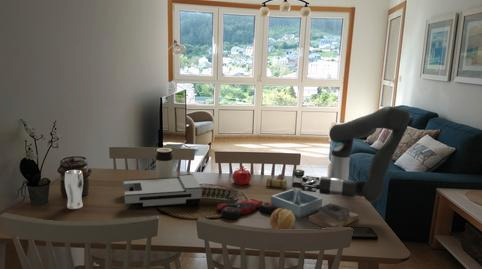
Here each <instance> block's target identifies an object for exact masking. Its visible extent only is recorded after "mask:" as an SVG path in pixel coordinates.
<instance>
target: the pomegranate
mask: <svg viewBox="0 0 482 269" xmlns="http://www.w3.org/2000/svg"><path fill="white" fill-rule="evenodd" d="M244 167H245V166H244V165H241V167H238V168H236V169H235V170H234V171H233V173H232V175H231V178H232V181H233V183H235V184H236V185H239V186H245V185H248V184H250V182H251V180H252V175H251V172H250V171H249V170H248V167H247V168H246V167H245V168H244Z"/></svg>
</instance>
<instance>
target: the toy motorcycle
mask: <svg viewBox="0 0 482 269" xmlns="http://www.w3.org/2000/svg"><path fill="white" fill-rule="evenodd" d="M216 208H217V209H218V210H221V213H220V214H221V216H222V217H223V218H224V219H227V220H235V219H237V218H239V217H240V215H247V214H249V213H252V212H254V211H255V210H257V209H258V208H259V211H260V212H262V213H264V214H268V215H269V214H271V215H272V213H273V212H274V211H275V210H276V209H277V208H276V206H275V205H274V204H272V203H271V202H270V201H267V202H266V201H265V202H264V201H263V200H260V199H259V200H258V199H255V198H253V199H252V198H249V200H248V199H245V200H242V201H239V203H226V202H225V203H220V204H217V205H216Z"/></svg>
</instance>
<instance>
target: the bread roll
mask: <svg viewBox="0 0 482 269" xmlns="http://www.w3.org/2000/svg"><path fill="white" fill-rule="evenodd" d="M295 224H296V217H295V216H294V214H293V213H292V211H289V210H287V209H283V208H278V209H276V210H275V211H274V212H273V213H272V214H271V215H270V218H269V225H270V227H271V229H272V228H273V229H292V230H293V228H294V226H295ZM273 229H272V230H273Z"/></svg>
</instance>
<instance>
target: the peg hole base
mask: <svg viewBox="0 0 482 269" xmlns="http://www.w3.org/2000/svg"><path fill="white" fill-rule="evenodd" d="M358 218H359V214H357V213H355V212H352V211H351V209H350V208H347V207H344V206H341V205H339V204H336V203H332V202H330V203H328V204H325V205H322V207H320V208H319V210H318V211H317V212H315V213H312V215H311V214H310V215H309V216H308V221H309V222H311V223H313V224H316V225H318V226H321V227H323V228H326V229H328V228H327V227H341V228H342V227H345V226H347V225H348V224H351V223H353V222H355V221H357V220H358Z"/></svg>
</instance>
